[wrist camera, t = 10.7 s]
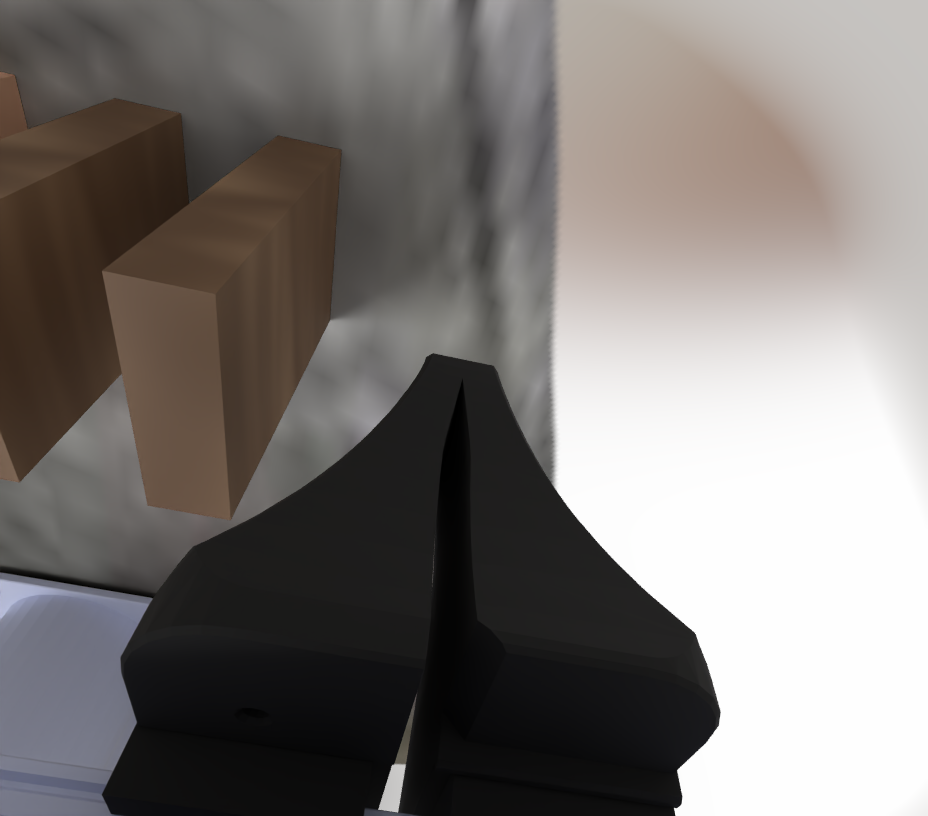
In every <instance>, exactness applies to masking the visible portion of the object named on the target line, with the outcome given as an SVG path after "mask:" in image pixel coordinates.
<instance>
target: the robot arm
mask: <svg viewBox="0 0 928 816" xmlns="http://www.w3.org/2000/svg"><path fill="white" fill-rule="evenodd" d="M434 541H435V549H434ZM433 555H434V572H433ZM432 575H433V584H432ZM431 595H432V596H431ZM417 690H418V691H417ZM416 693H417V698H416V704H415V710H414V717H413V723H412V730H411V736H410V743H409V749H408V755H407V761H406V768H405V774H404V780H403V787H402V793H401V799H400V805H399V811H398V813H397V812H390V811H383V810H378V808H379V805H380V802H381V798H382V795H383V792H384V789H385V786H386V783H387V779H388V776H389V773H390V770H391V766H392V765H394V763H395V760H396V757H397V753H398V750H399V747H400V744H401V741H402V738H403V734H404V731H405V728H406V725H407V722H408V719H409V715H410V712H411V709H412V706H413V703H414V700H415V696H416ZM719 719H720V708H719V705H718V701H717V697H716V694H715V690H714V687H713V683H712V679H711V676H710V673H709V670H708V666H707V663H706V661H705V658H704V656H703V653H702V651H701V648H700V646H699V643H698V640H697V637H696V634H695V633H694V632H693V631H692V630H691V629H690V628H688V627H687V626H686V625H685V624H684V623H682V622H681V621H680V620H679V619H678V618H676V617H675V616H674V615H673V614H672V613H671V612H669V611H668V610H667V609H666V608H665V607H664V606H663V605H661V604H660V603H659V602H658V601H657V600H656V599H654V598H653V597H652V596H651V595H650V594H648V593H647V592H646V591H645V590H644V589H643V588H642V587H641V586H639V584H637V582H636V581H635V580H634V579H633V578H632V577H630V576H629V575H628V574H627V573H626V572H625V571H624V570H623V569H622V568H621V567H620V566H619V565H618V564H617V563H616V562H615V561H614V560H613V559H612V558H611V557H610V555H608V553H607V552H606V551H605V550H604V549H603V548H602V547H601V546H600V545H599V544H598V542H597V541H596V540H595V539H594V538H593V537H592V536H591V534H590V533H589V532H588V531H587V530H586V529H585V527H584V526H583V525H582V524H581V523H580V522H579V521H578V519H577V518H576V517H575V515H574V514H573V513H572V512H571V510H570V509H569V508H568V507H567V505H566V504H565V502H564V501H563V500H562V498H561V497H560V495H559V494H558V492H557V491H556V490H555V488H554V487H553V485H552V484H551V482H550V481H549V479H548V477H547V476H546V474H545V473H544V471H543V469H542V468H541V466H540V464H539V462H538V461H537V459H536V457H535V456H534V454H533V452H532V450H531V448H530V447H529V445H528V443H527V441H526V439H525V437H524V435H523V433H522V431H521V429H520V427H519V425H518V423H517V421H516V418H515V416H514V414H513V412H512V410H511V407H510V405H509V402H508V400H507V398H506V395H505V392H504V390H503V387H502V384H501V382H500V379H499V376H498V372H497V371H496V369H495V367H494V366H492V365H487V364H482V363H477V362H472V361H467V360H462V359H458V358H453V357H448V356H443V355H438V354H431V355H429V356H427V357H426V359H425V362H424V364H423V366H422V368H421V370H420V372H419V374H418V375H417V377H416V378H415V380H414V381H413V383H412V384H411V385H410V387H409V388H408V390H407V391H406V392H405V393H404V395H403V396H402V397H401V398H400V400H399V401H398V402H397V404H396V405H395V406H394V407H393V408H392V410H391V411H390V412H389V413H388V414H387V415H386V416H385V417H384V418H383V419H382V420H381V421H380V423H379V424H378V425H377V426H376V427H375V428H374V429H373V430H372V431H371V432H370V433H369V434H368V435H367V436H366V437H365V438H364V439H363V440H362V441H361V442H360V443H359V444H357V445H356V446H355V447H354V448H353V449H352V450H351V451H349V452H348V453H347V454H346V455H345V456H344V457H342V458H341V459H340V460H339V461H338V462H336V463H335V464H334V465H332V466H331V467H330V468H328V469H327V470H326V471H324V472H323V473H322V474H321V475H319V476H318V477H317V478H315V479H314V480H312V481H311V482H310V483H308V484H307V485H305V486H304V487H302V488H301V489H299V490H298V491H296V492H295V493H293V494H291V495H290V496H288V497H286V498H285V499H283V500H281V501H280V502H278V503H277V504H275V505H273V506H272V507H270V508H268V509H267V510H265V511H263V512H262V513H260V514H258V515H256V516H255V517H253V518H251V519H249V520H247V521H245V522H243V523H241V524H239V525H237V526H235V527H233V528H231V529H229V530H227V531H225V532H223V533H221V534H219V535H217V536H215V537H213V538H211V539H209V540H207V541H205V542H203V543H201V544H198V545H196V546H194V547H192V549H191V550H190V551H189V552H188V553H187V554H186V556H185V557H184V558H183V559H182V560H181V562H180V563H179V564H178V565H177V567H176V568H175V569H174V570H173V572H172V573H171V574H170V576H169V577H168V578H167V580H166V581H165V582H164V584H163V585H162V586H161V588H160V589H159V590H158V592H157V593H156V595H155V596H154V598H150V597H144V596H138V595H132V594H126V593H120V592H114V591H108V590H102V589H96V588H90V587H84V586H78V585H73V584H67V583H61V582H55V581H49V580H43V579H37V578H31V577H25V576H19V575H13V574H7V573H1V572H0V816H675V811H674V808H678V807H679V806H680V805H681V803H682V793H681V788H680V783H679V778H678V773H677V770H678V769H679V768H680V767H681V766H682V765H683V764H684V763H685V762H686V761H687V760H688V759H689V758H690V757H691V756H692V755H694V754H695V752H697V751H698V750H699V749H700V748H701V747H702V746H703V745H704V744H705V743H706V742H707V741H708V739H709V738H710V737H711V735H712V734H713V733H714V731H715V730H716V729H717V727H718V726H719Z"/></svg>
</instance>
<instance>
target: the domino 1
mask: <svg viewBox="0 0 928 816" xmlns="http://www.w3.org/2000/svg"><path fill="white" fill-rule="evenodd" d="M27 129H28V127H27V123H26V119H25V115H24V111H23V107H22V103H21V99H20V95H19V90H18V86H17V82H16V78H15V75H12V74H8V73H3V72H0V139H2V138H5V137H8V136H11V135H13V134H16V133H19V132H22V131H25V130H27Z"/></svg>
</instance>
